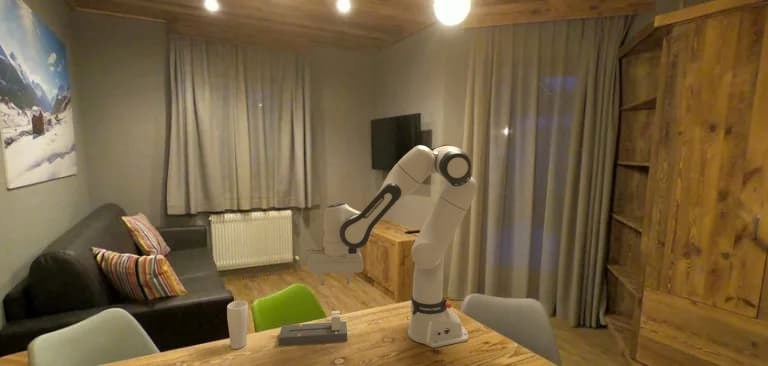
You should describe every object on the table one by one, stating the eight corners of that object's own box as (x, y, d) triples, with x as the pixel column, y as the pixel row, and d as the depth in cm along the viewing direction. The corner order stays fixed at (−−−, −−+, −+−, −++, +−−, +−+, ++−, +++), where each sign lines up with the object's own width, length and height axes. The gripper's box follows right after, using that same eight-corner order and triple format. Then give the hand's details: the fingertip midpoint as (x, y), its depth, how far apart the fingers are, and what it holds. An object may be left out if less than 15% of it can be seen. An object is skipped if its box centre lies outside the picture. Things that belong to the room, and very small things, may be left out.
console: (345, 328, 140) (345, 321, 140) (347, 341, 131) (347, 332, 131) (282, 332, 136) (281, 325, 136) (278, 345, 127) (278, 337, 127)
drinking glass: (241, 352, 123) (240, 309, 122) (223, 349, 124) (222, 307, 123) (252, 341, 130) (251, 301, 128) (235, 339, 131) (234, 299, 130)
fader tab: (339, 323, 137) (339, 310, 137) (340, 329, 132) (340, 316, 132) (331, 323, 137) (331, 310, 136) (331, 330, 132) (331, 317, 131)
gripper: (306, 250, 127) (306, 288, 128) (364, 249, 130) (363, 286, 131) (307, 245, 133) (307, 281, 134) (362, 244, 136) (361, 279, 138)
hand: (335, 284), depth 133 cm, fingers open, 8 cm apart
